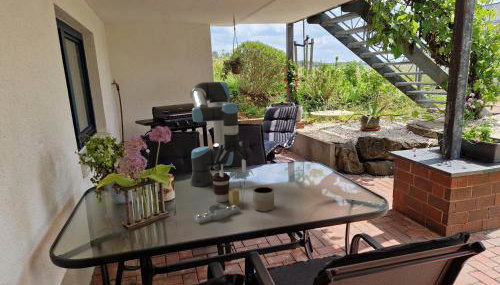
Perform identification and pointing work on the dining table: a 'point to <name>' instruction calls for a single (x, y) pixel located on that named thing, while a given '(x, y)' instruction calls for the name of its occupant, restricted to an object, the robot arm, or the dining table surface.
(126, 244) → the dining table surface
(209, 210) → the chain end
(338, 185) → the dining table surface
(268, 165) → the dining table surface
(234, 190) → the link peg
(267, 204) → the planter
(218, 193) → the coffee cup
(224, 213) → the chain end
